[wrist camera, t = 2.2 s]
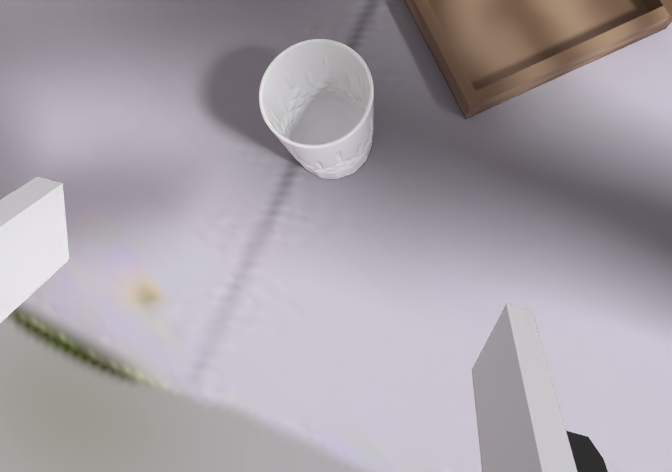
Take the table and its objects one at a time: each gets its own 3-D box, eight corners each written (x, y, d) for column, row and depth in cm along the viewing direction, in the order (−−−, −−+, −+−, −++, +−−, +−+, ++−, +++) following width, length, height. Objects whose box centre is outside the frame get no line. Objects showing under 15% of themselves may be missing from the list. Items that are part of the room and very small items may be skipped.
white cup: (332, 82, 45) (314, 16, 35) (398, 139, 43) (398, 86, 34) (270, 145, 45) (235, 97, 35) (334, 205, 43) (315, 171, 33)
